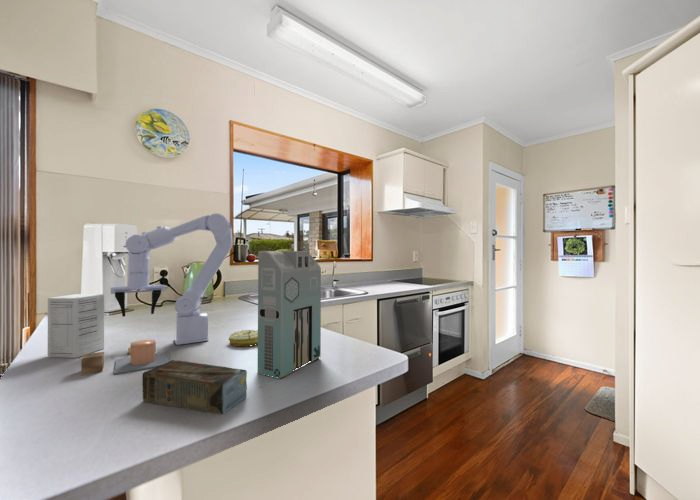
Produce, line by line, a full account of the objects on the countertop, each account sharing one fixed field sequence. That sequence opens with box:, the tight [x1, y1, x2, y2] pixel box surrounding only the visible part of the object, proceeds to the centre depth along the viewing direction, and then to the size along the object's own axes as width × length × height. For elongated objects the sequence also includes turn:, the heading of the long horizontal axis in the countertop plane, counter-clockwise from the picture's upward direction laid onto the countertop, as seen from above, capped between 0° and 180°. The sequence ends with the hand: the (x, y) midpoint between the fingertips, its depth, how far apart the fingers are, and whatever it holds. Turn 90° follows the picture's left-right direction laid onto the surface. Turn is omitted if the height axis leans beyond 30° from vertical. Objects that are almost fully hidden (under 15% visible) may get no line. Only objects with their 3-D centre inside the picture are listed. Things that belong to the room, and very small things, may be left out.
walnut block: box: [80, 351, 105, 376], centre depth 79 cm, size 4×4×4 cm
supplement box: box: [47, 293, 105, 359], centre depth 94 cm, size 10×9×17 cm
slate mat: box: [113, 351, 171, 376], centre depth 85 cm, size 12×12×1 cm
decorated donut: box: [228, 329, 258, 347], centre depth 104 cm, size 10×11×4 cm
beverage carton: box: [141, 359, 248, 415], centre depth 64 cm, size 8×19×7 cm, turn 74°
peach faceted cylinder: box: [129, 339, 157, 365], centre depth 85 cm, size 6×6×5 cm
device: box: [257, 250, 322, 379], centre depth 83 cm, size 16×8×30 cm, turn 151°
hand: (138, 314), depth 103 cm, fingers open, 7 cm apart
